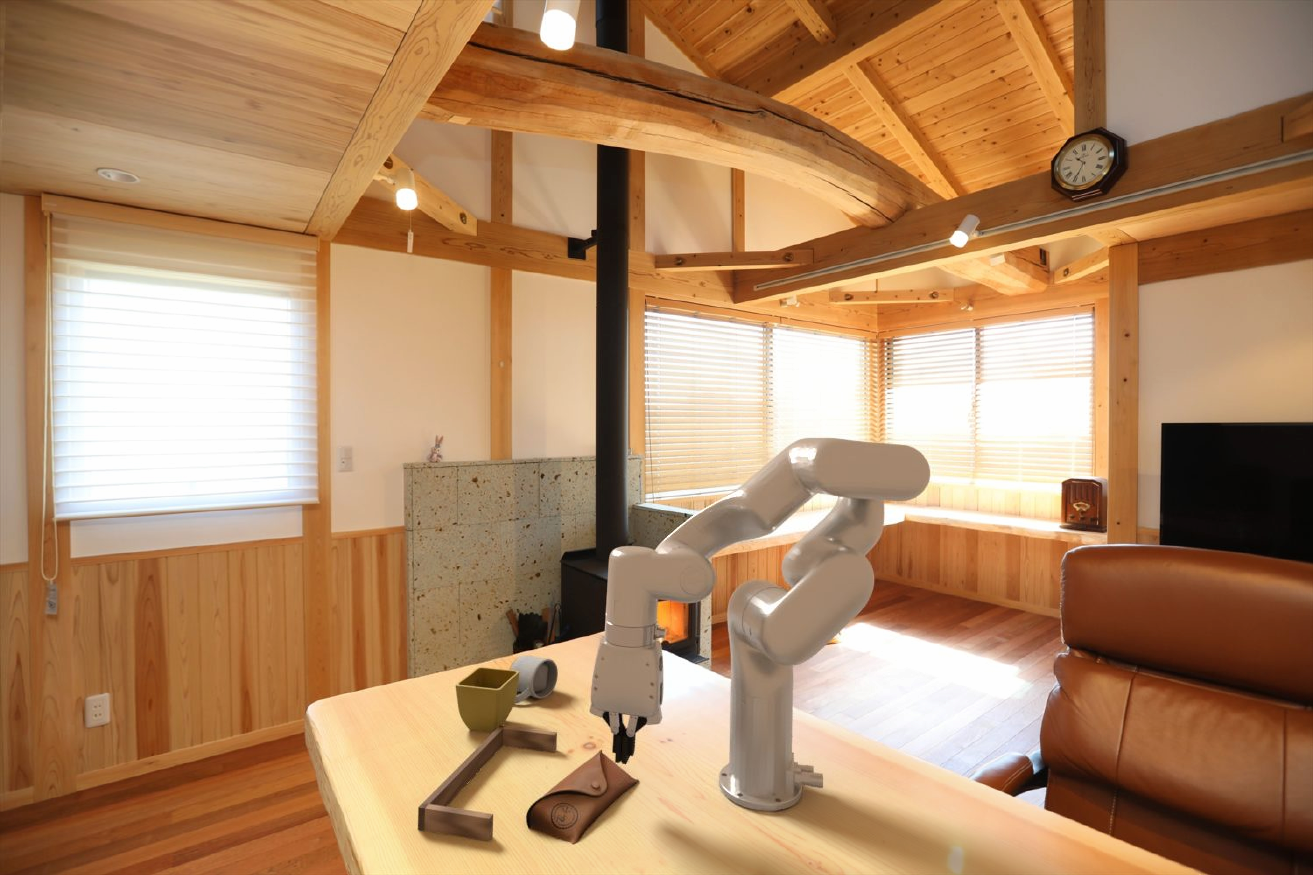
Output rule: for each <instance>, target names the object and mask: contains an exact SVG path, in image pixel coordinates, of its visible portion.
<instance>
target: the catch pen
mask: <svg viewBox="0 0 1313 875" xmlns="http://www.w3.org/2000/svg"><path fill="white" fill-rule="evenodd" d="M557 736H558V731H557V732H555V731H549V730H542V729H541V730H540V729H535V728H534V729H533V728H527V727H525V728H524V727H518V726H517V727H516V726H508V725H503V724H502V725H500V726H499V727H498V728H497V729H496V730H495V731H494V732H491V733H490V735H489V736H488V737H487V738H486V739H485V740H484V741H483V742H482V743H481V744H480V745H479V746H478V747H477V748H476V749H475V750H474V751H473V752H472V753H471V754H470V755H469V756H468V757H467V758H466V759H465V760H464V761H463V762H462V763H460V765H459V766H458V767H457V768H456V769H455V770H454V771H453V772H452V773H450V775H449V776H448V777H447V778H446V779H445V780H444V781H443V782H442V783H441V784H440V785H439V786H438V787H437V788H436V789H435V790H434V791H433V792H432V793H431V794H430V795H429V796H428V797H427V798H426V799H425V800H424V801H423V802H422V803H421V804H420V805H419V806H418V807H417V810H418V812H417V816H418V817H417V830H419V831H425V832H429V833H436V834H442V835H449V836H453V837H459V838H465V839H466V838H467V839H471V840H477V841H484V842H490V841H491V839H493V836H494V814H493V813H488V812H482V811H477V810H476V811H475V810H470V809H463V808H457V807H451V806H449V804H450V803H452V802H453V800H454V799H455V798H456V797H458V795H459V794H460V793H461V792H462V791H463V790H464V788H466V786H467V785H468V784H469V783H470V782H471V781H472V779H473V778H475V776H476V775H477V774H479V772H480V771H481V770H482V769H483V768H484V767H485V766H486V765H487V763H489V762H490V760H491V759H492V758H494V756H495V755H496V754H495V753H496V752H497V753H498V752H499V751H500V750H501V749H502V747H507V748H515V749H516V748H517V749H521V750H532V751H537V752H545V753H554V754H555V753H556V751H557V749H558V748H557V747H558V746H557V743H558V740H557V738H558V737H557ZM484 765H485V766H484ZM483 766H484V767H483ZM482 767H483V768H482ZM481 768H482V769H481ZM480 769H481V770H480ZM476 773H477V774H476ZM470 780H471V781H470ZM469 781H470V782H469ZM468 782H469V783H468ZM467 783H468V784H467Z"/></svg>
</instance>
